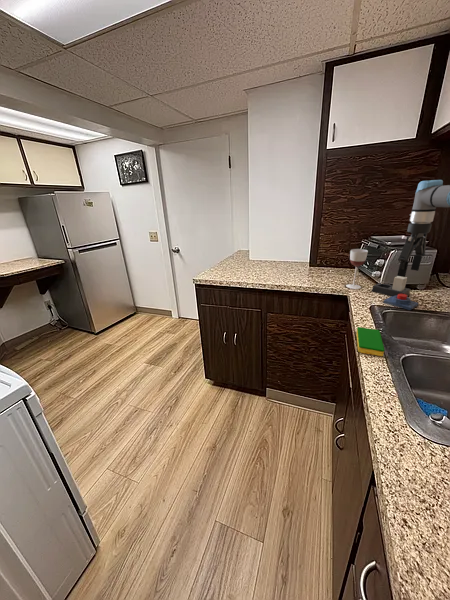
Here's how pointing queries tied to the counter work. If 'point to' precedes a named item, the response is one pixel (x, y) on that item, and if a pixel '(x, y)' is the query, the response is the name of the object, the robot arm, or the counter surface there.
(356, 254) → the wineglass
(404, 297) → the switch
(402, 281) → the block
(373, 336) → the dish sponge
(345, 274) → the counter surface
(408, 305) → the switchbox
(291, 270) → the counter surface
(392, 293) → the adapter
